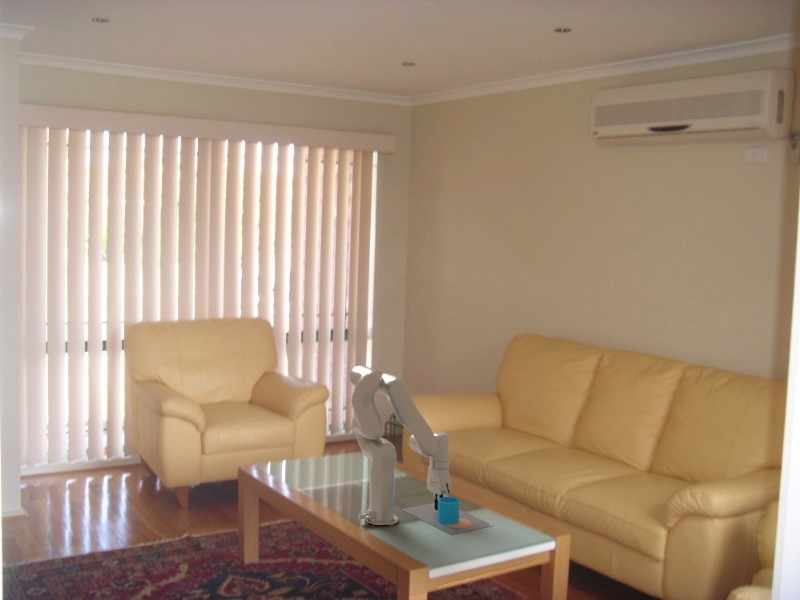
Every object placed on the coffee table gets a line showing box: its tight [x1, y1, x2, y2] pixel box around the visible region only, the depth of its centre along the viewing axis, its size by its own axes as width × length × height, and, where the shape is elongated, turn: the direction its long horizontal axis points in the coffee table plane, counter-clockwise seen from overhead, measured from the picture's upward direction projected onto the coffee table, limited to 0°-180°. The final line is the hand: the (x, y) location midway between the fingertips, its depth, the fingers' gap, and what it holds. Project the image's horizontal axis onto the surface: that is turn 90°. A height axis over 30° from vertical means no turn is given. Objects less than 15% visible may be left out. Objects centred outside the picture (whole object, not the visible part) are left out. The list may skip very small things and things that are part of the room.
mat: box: [400, 502, 491, 536], centre depth 334 cm, size 20×34×1 cm, turn 33°
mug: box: [438, 496, 460, 524], centre depth 331 cm, size 12×8×8 cm
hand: (438, 509), depth 339 cm, fingers closed
